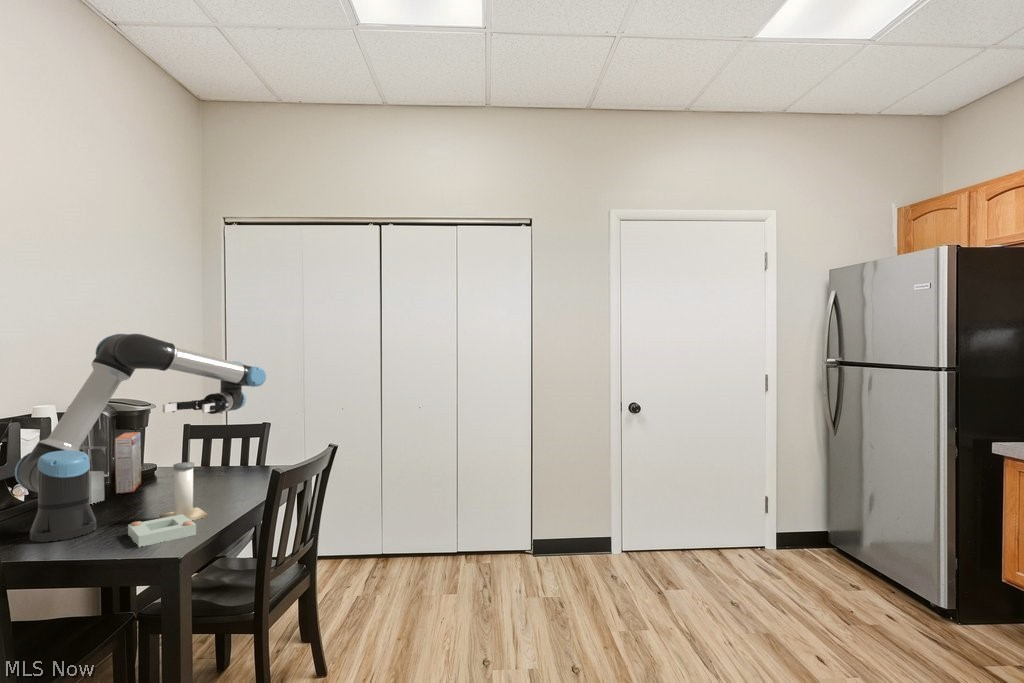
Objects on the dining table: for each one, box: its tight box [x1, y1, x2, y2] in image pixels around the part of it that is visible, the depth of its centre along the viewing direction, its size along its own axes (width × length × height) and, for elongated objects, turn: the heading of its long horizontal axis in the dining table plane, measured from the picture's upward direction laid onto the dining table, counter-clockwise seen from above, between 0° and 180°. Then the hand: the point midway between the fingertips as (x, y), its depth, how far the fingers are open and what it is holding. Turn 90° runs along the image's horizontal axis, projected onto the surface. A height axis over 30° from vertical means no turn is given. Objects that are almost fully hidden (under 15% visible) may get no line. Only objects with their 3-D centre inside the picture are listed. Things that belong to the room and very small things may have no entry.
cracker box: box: [114, 431, 142, 494], centre depth 213 cm, size 14×6×21 cm, turn 23°
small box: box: [89, 470, 105, 505], centre depth 195 cm, size 8×6×10 cm
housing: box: [127, 514, 197, 548], centre depth 160 cm, size 14×14×4 cm
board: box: [159, 507, 209, 521], centre depth 177 cm, size 11×11×1 cm
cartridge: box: [172, 461, 195, 516], centre depth 177 cm, size 6×6×16 cm
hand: (183, 408), depth 189 cm, fingers open, 13 cm apart
